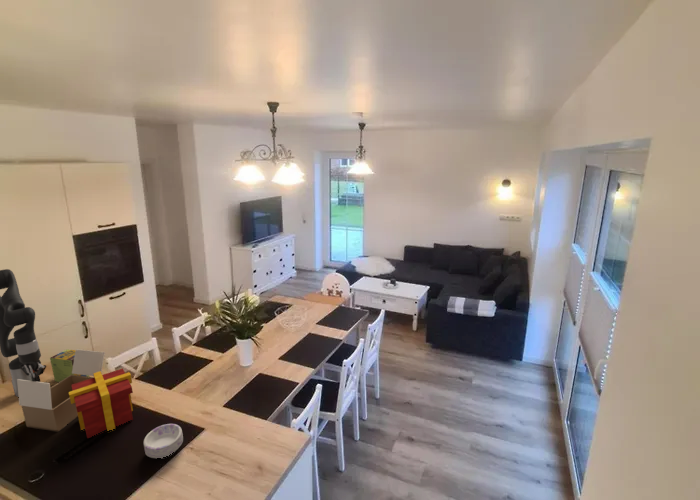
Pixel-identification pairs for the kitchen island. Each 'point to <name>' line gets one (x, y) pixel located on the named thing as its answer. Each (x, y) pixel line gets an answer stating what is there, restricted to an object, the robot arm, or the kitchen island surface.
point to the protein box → (63, 365)
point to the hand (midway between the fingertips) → (37, 382)
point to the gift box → (103, 401)
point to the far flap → (87, 362)
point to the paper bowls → (163, 441)
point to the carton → (55, 407)
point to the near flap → (34, 394)
